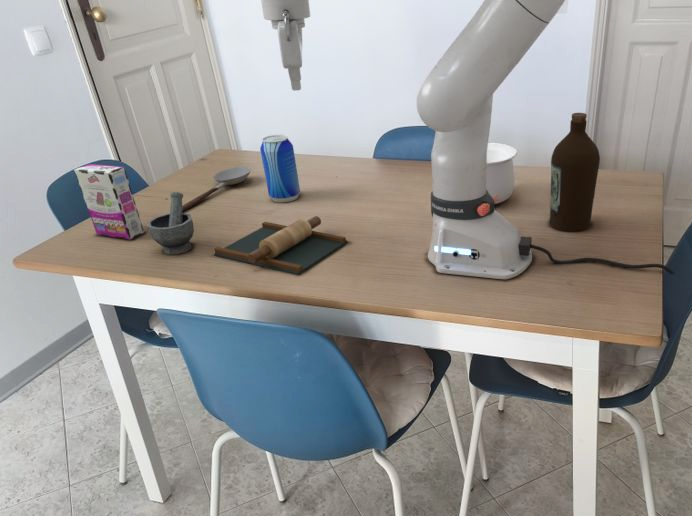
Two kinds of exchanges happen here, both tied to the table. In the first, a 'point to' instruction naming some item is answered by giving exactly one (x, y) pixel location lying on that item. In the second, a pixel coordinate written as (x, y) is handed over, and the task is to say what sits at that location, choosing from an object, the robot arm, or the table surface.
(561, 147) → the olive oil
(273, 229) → the chalkboard
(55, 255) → the table surface
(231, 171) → the spoon
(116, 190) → the candy bar box
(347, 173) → the table surface
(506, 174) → the pot
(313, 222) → the rolling pin
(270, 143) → the beer can
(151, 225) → the mortar and pestle
